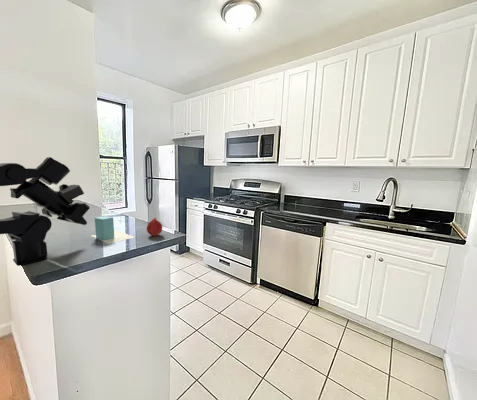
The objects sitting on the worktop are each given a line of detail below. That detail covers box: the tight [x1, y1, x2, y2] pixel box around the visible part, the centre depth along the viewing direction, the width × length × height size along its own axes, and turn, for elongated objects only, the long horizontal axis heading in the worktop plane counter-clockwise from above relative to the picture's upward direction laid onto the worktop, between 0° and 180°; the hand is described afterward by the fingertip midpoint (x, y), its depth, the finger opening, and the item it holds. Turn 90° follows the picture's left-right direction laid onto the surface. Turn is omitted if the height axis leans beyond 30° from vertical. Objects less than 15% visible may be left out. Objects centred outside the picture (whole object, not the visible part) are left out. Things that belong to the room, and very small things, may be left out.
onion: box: [146, 217, 163, 237], centre depth 89 cm, size 6×6×8 cm
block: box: [94, 215, 115, 241], centre depth 85 cm, size 4×5×8 cm
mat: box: [91, 230, 135, 245], centre depth 88 cm, size 10×15×1 cm, turn 53°
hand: (85, 223), depth 79 cm, fingers closed
